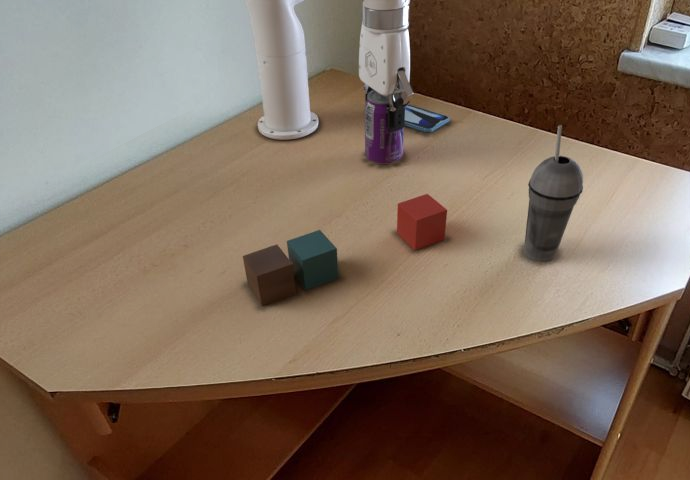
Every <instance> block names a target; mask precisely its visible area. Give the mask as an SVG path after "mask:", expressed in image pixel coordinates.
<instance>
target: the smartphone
mask: <svg viewBox="0 0 690 480" xmlns="http://www.w3.org/2000/svg"><path fill="white" fill-rule="evenodd" d="M449 122H450V116H448V115H447V114H446V115H445V114H442V113H440V112H436V111H432V110H430V109H426V108H424V107H423V108H422V107H419V106H416V105H412V104H410V103H408V104H407V108H405V124H404V127H405V126H406V127H409V128H411V129H415V130H418V131H421V132H423V133H432V132H434V131H435V130H438V129H439V128H441V127H442V126H444V125H445V124H447V123H449Z"/></svg>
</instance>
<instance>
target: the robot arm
mask: <svg viewBox="0 0 690 480" xmlns="http://www.w3.org/2000/svg"><path fill="white" fill-rule="evenodd" d="M305 1H306V0H244V2H245V4H246V8H247V11H248V15H249V19H250V23H251V29H252V34H253V41H254V49H255V55H256V61H257V62H256V64H257V71H258V77H259V85H260V95H261V100H262V101H261V102H262V108H263V109H262V110H263V115H262V116H261V117H260V118H259V119H258V121H257V129H258V131H259V133H260V134H261V135H263V136H264V137H266V138H268V139H272V140H277V141H278V140H280V141H288V140H297V139H300V138H304V137H306V136H308V135H310V134H313V133H314V132H315V131H316V130H317V129H318V128H319V117H318V115H317V114H316V113H315V112H314V111H311V104H310V89H309V77H308V76H309V75H308V63H307V50H306V48H307V47H306V39H305V38H306V37H305V31H304V28H303V25H302V24H301V21H300V19H299V18H298V16H297V14H296V11H295V6H297V5H299V4H301V3H302V2H305ZM410 7H411V0H362V22H361V28H360V33H359V47H358V48H359V49H358V76H359V80H360V81H361V82H362V83H363V84H364V86H363V92H364V102H365V103H366V101H367V99H368V98H367V95H368V93H369V92H370V91H372V90H375V91H377V92H378V93H380V94H381V95H383V96H387V97H388V101H389V106H390V109H389V110H388V125H387V130H388V132H390V133H391V132H394V131H398V130H401V129H403V128H404V129H405V125H404V124H405V108H407V104H410V101H411V100H412V98H413V96H414V91H413V89H412V86H411V84H410V79H411V77H410V76H411V47H410V35H409V26H410V10H411V9H410ZM396 88H397V90H394V89H396ZM393 90H394V91H393ZM398 93H399V98H398V99H397V100H396V101H395V100H394V96H393V95H395V94H398Z"/></svg>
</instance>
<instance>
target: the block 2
mask: <svg viewBox="0 0 690 480" xmlns="http://www.w3.org/2000/svg"><path fill="white" fill-rule="evenodd" d="M286 246H287V254H288V256H287V257H288V259H289V260H290V261H291V263H292V264H293V272H294V278H295V279H296V280H297V281H298V283H299V284H300V285H301V286H302V288H303V289H304V290H305V291H308V290H310V289H313V288H316V287H318V286H321V285H324V284H327V283H330V282H332V281H335V280H338V279H339V263H338V247H336V246H335V245H334V243H333V242H332V241H331V240H330V239H329V238H328V237H327V235H325V234H324V233H323V231H322V230H321V229H317V230H315V231H311V232H309V233H306V234H303V235H300V236H297V237H294V238H291V239H288V240H286Z"/></svg>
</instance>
